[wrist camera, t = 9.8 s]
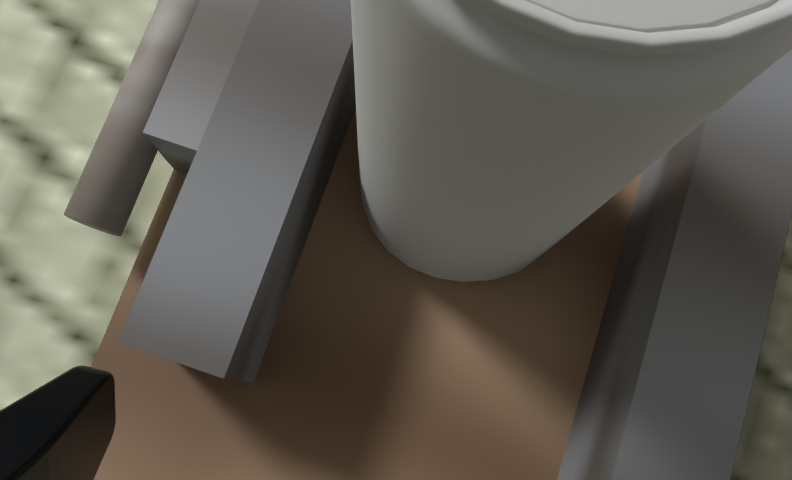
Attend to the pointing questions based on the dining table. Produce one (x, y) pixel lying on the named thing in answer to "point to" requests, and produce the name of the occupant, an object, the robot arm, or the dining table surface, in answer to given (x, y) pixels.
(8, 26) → the dining table surface
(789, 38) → the beverage can
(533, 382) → the vise
